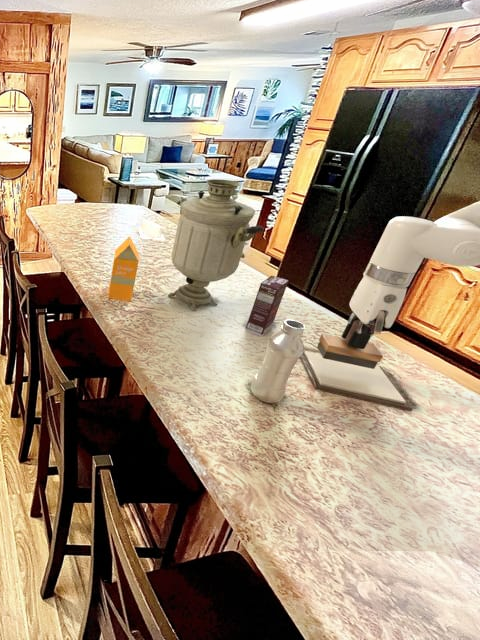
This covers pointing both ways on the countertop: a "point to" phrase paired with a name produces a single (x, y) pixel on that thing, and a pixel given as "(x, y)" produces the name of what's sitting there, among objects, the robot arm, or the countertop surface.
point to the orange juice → (124, 271)
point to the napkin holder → (151, 231)
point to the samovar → (210, 240)
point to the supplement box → (266, 305)
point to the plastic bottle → (279, 362)
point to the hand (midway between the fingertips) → (352, 342)
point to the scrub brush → (349, 350)
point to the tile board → (353, 381)
